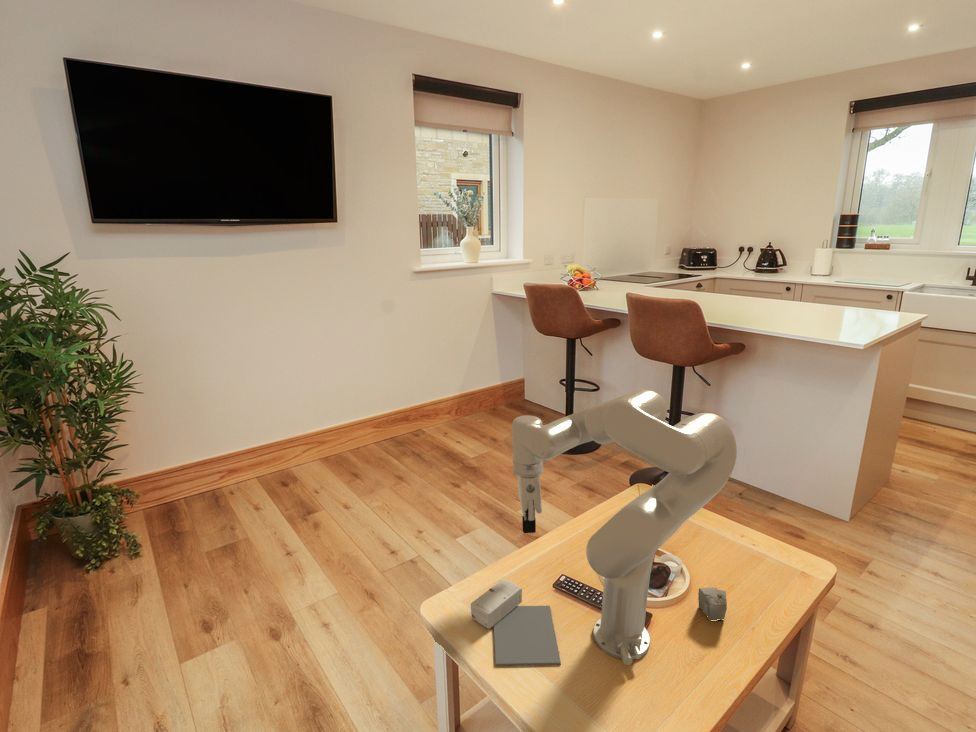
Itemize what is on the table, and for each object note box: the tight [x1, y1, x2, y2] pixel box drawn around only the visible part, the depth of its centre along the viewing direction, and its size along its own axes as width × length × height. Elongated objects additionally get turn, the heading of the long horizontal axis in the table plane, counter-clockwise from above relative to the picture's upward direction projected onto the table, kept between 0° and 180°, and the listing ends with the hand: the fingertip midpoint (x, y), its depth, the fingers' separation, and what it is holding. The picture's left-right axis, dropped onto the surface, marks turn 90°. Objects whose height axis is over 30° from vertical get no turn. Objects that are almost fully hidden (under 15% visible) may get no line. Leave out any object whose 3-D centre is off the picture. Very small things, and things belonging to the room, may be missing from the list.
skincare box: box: [470, 578, 523, 630], centre depth 127 cm, size 6×4×12 cm
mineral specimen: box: [697, 587, 728, 621], centre depth 125 cm, size 7×9×8 cm
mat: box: [493, 605, 562, 667], centre depth 120 cm, size 17×14×1 cm
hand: (529, 531), depth 134 cm, fingers closed
